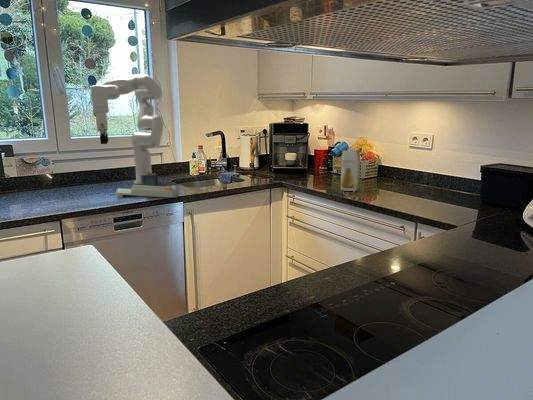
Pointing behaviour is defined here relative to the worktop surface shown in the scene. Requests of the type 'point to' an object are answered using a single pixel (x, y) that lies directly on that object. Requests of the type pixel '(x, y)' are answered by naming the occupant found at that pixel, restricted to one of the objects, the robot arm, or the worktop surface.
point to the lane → (147, 191)
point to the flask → (149, 179)
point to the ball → (168, 188)
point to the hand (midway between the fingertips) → (104, 142)
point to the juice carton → (350, 170)
